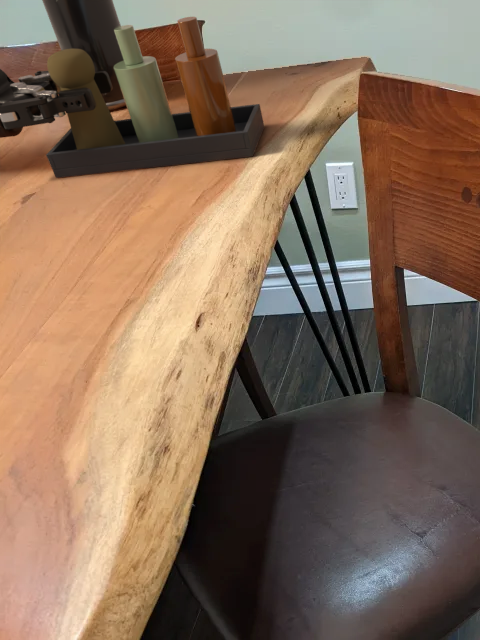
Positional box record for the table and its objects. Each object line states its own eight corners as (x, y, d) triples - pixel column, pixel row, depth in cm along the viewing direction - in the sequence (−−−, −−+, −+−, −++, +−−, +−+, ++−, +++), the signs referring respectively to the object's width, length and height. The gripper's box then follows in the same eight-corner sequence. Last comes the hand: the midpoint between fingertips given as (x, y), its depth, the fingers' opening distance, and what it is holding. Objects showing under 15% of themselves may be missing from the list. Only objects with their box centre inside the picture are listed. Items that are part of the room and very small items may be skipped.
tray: (55, 178, 86) (45, 154, 84) (82, 147, 93) (73, 125, 91) (253, 156, 84) (247, 131, 82) (264, 127, 91) (259, 103, 89)
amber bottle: (204, 131, 89) (172, 15, 80) (241, 128, 88) (213, 11, 79) (193, 146, 86) (158, 27, 77) (231, 143, 85) (201, 22, 76)
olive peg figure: (104, 139, 91) (68, 42, 83) (135, 144, 89) (101, 44, 81) (69, 156, 88) (27, 57, 80) (100, 162, 85) (60, 60, 77)
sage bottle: (148, 138, 90) (111, 23, 81) (184, 135, 89) (151, 19, 80) (135, 152, 86) (94, 35, 77) (172, 149, 86) (136, 31, 77)
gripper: (-74, 89, 77) (68, 72, 76) (-21, 54, 87) (107, 37, 86) (-38, 159, 83) (96, 144, 81) (9, 118, 93) (129, 104, 91)
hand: (101, 89), depth 83 cm, fingers open, 6 cm apart
